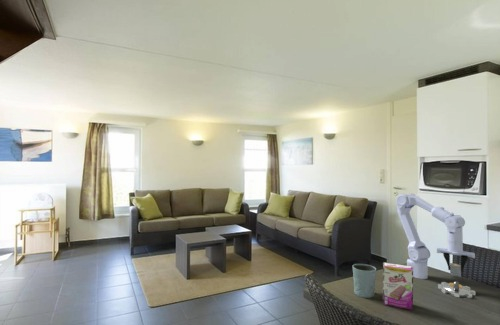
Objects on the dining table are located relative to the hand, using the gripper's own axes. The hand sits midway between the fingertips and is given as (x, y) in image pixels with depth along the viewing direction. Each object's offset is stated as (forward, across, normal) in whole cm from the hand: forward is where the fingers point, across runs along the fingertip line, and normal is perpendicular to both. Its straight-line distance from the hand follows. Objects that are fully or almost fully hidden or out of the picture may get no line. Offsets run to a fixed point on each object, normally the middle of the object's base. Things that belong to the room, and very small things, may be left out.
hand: (455, 270), depth 133 cm
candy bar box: (+10, -21, -31) cm, 39 cm away
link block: (+2, 0, 0) cm, 2 cm away
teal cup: (+10, -35, -27) cm, 45 cm away
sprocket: (+8, 0, -3) cm, 9 cm away
